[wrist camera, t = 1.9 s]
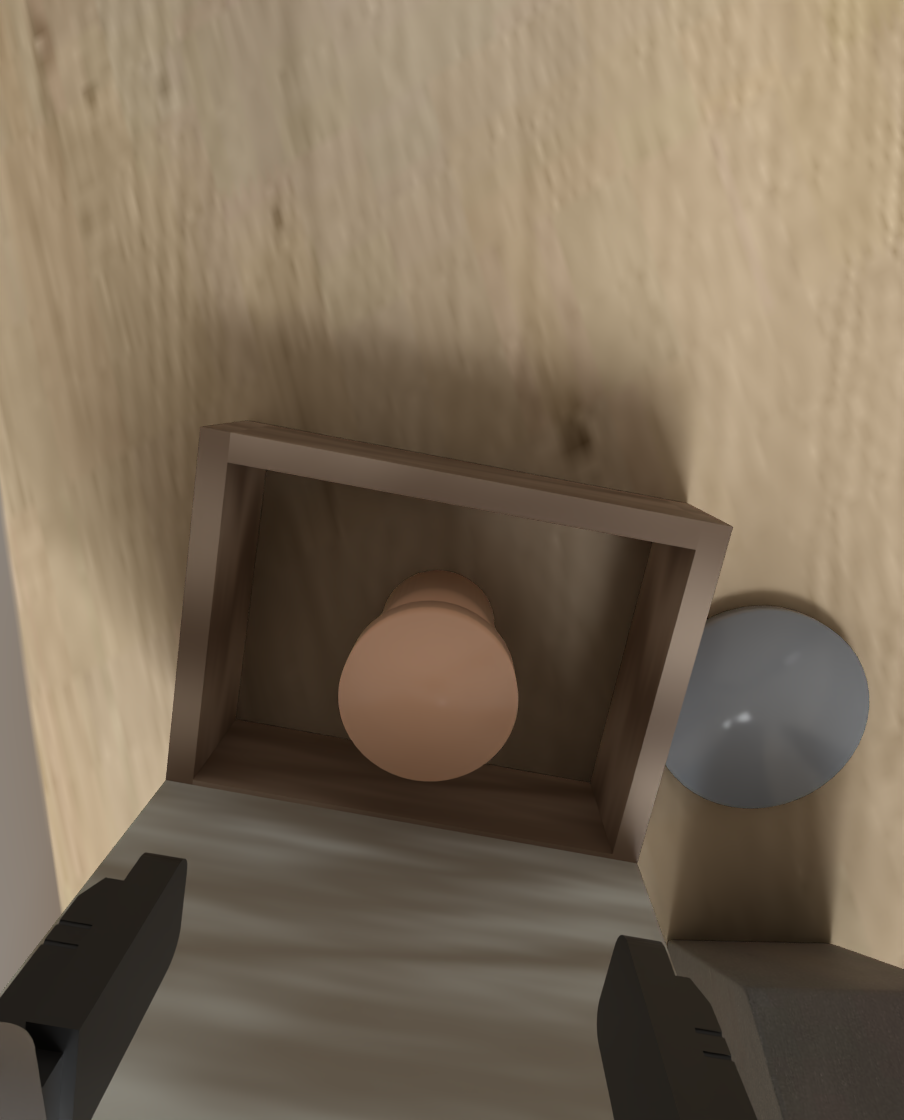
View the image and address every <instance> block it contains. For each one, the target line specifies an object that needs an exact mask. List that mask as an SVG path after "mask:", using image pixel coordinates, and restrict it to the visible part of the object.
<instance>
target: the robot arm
mask: <svg viewBox="0 0 904 1120" xmlns="http://www.w3.org/2000/svg"><path fill="white" fill-rule="evenodd" d="M186 876H187V860H186V859H183V858H177V857H172V856H166V855H160V854H154V853H148V852H145V853H143V854H142V855H141V857H140V858H139V859H138V861H137V862H136V864H135V865H134V866H133V868H132V869H131V871H130V872H129V874H128V875H127V876H126V878H125V879H124V880H118V879H112V878H107V877H105V878H104V879H102V880H101V881H99V882H98V883H96V884H95V885H93V886H92V887H90V888H89V889H87V890H86V891H84V892H83V893H81V894H80V895H78V896H77V898H76V899H75V900H74V902H73V903H72V904H71V906H70V907H69V908H68V910H67V911H66V912H65V913H64V915H63V916H62V917H61V919H60V921H59V924H56V925H55V927H54V928H53V929H52V930H51V932H50V933H49V934H48V936H47V937H46V938H45V941H44V943H43V945H42V944H41V945H40V946H39V947H38V949H37V950H36V951H35V953H34V954H33V955H32V957H31V958H30V959H29V961H28V962H27V963H26V964H25V966H24V967H23V968H22V970H21V971H20V972H19V974H18V975H17V976H16V977H15V979H14V980H13V981H12V983H11V984H10V985H9V987H8V988H7V989H6V991H5V992H4V993H3V994H2V996H1V997H0V1120H91V1119H92V1117H93V1115H94V1113H95V1111H96V1109H97V1107H98V1105H99V1103H100V1101H101V1099H102V1097H103V1095H104V1093H105V1091H106V1090H107V1088H108V1086H109V1084H110V1082H111V1080H112V1078H113V1076H114V1074H115V1072H116V1070H117V1068H118V1066H119V1064H120V1062H121V1060H122V1058H123V1056H124V1054H125V1052H126V1050H127V1049H128V1047H129V1045H130V1043H131V1041H132V1039H133V1037H134V1035H135V1033H136V1031H137V1029H138V1027H139V1025H140V1023H141V1021H142V1019H143V1017H144V1015H145V1013H146V1011H147V1009H148V1008H149V1006H150V1004H151V1002H152V1000H153V998H154V996H155V994H156V992H157V990H158V988H159V986H160V984H161V982H162V980H163V978H164V976H165V974H166V972H167V970H168V968H169V966H170V964H171V961H172V959H173V956H174V953H175V950H176V947H177V943H178V939H179V935H180V929H181V921H182V912H183V903H184V894H185V885H186ZM597 1038H598V1044H599V1049H600V1054H601V1059H602V1063H603V1068H604V1073H605V1078H606V1083H607V1088H608V1092H609V1097H610V1102H611V1107H612V1112H613V1117H614V1120H758V1119H757V1117H756V1114H755V1112H754V1110H753V1107H752V1105H751V1102H750V1100H749V1097H748V1095H747V1092H746V1090H745V1087H744V1085H743V1082H742V1080H741V1077H740V1075H739V1072H738V1070H737V1067H736V1065H735V1063H734V1062H733V1061H732V1059H731V1056H732V1055H731V1053H730V1050H729V1048H728V1045H727V1043H726V1040H725V1038H723V1037H722V1030H721V1028H720V1025H719V1023H718V1020H717V1018H716V1016H715V1013H714V1011H713V1008H712V1006H711V1004H710V1002H709V1001H708V1000H707V999H706V997H705V996H704V995H703V994H702V992H701V991H700V990H699V989H698V987H697V986H696V985H695V984H694V982H693V981H692V980H691V979H690V978H688V977H682V976H676V975H675V973H674V970H673V968H672V965H671V962H670V959H669V957H668V954H667V951H666V948H665V946H664V945H663V943H662V942H660V941H655V940H650V939H644V938H638V937H632V936H626V935H620V936H619V937H618V938H617V941H616V943H615V946H614V950H613V953H612V957H611V961H610V964H609V968H608V971H607V975H606V978H605V982H604V985H603V989H602V992H601V996H600V999H599V1004H598V1011H597Z"/></svg>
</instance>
